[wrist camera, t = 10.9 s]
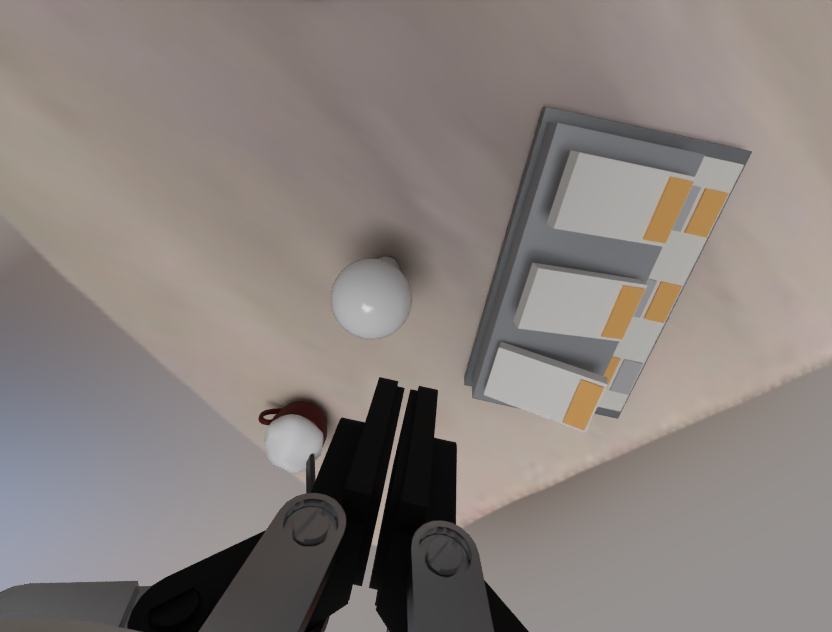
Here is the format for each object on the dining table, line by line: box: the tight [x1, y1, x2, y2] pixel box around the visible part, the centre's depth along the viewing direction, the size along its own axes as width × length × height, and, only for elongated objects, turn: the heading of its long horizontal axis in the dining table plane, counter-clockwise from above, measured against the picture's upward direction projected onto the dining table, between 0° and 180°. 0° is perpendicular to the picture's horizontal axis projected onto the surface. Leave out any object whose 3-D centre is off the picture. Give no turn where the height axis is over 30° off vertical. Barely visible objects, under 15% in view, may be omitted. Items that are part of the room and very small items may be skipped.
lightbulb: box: [331, 257, 412, 340], centre depth 36 cm, size 6×6×11 cm
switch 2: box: [513, 263, 648, 342], centre depth 33 cm, size 5×9×1 cm, turn 79°
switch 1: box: [547, 150, 696, 247], centre depth 30 cm, size 5×9×1 cm, turn 79°
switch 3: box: [484, 342, 608, 433], centre depth 37 cm, size 5×9×1 cm, turn 79°
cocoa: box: [259, 402, 327, 493], centre depth 44 cm, size 10×6×12 cm, turn 43°
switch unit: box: [464, 107, 752, 419], centre depth 37 cm, size 26×16×5 cm, turn 169°
